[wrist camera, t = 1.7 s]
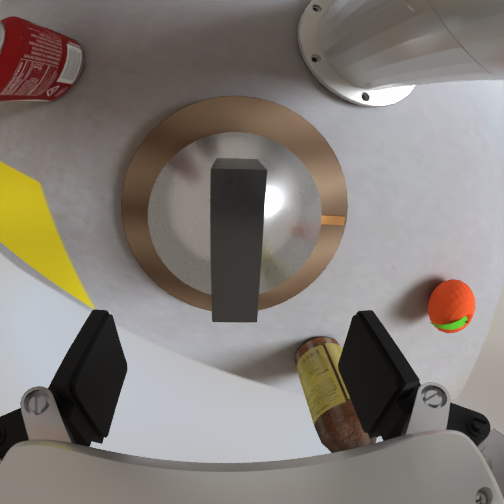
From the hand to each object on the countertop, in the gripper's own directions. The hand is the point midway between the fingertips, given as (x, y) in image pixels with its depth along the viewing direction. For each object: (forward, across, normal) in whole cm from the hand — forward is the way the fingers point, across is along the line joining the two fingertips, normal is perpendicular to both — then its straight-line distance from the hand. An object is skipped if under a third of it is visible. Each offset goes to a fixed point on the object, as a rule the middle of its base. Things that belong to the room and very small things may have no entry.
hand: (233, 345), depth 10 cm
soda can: (+17, +18, -16) cm, 29 cm away
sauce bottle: (+17, -11, +17) cm, 27 cm away
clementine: (+17, -27, +9) cm, 34 cm away
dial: (+15, 0, -1) cm, 15 cm away
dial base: (+17, 0, -1) cm, 17 cm away
